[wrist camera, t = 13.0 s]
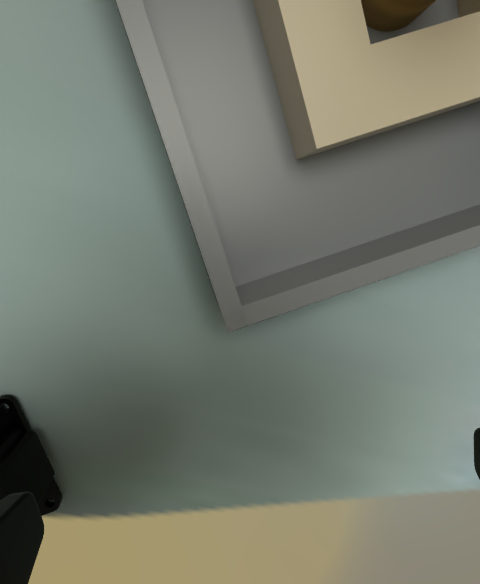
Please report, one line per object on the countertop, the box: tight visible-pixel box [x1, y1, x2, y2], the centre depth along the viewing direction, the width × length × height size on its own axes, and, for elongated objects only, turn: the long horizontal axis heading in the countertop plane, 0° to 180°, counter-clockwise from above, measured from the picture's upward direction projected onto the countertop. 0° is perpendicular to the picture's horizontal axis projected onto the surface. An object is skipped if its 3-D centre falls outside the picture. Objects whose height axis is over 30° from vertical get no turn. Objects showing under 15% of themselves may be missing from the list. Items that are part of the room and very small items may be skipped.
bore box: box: [115, 0, 480, 332], centre depth 17 cm, size 16×16×5 cm
